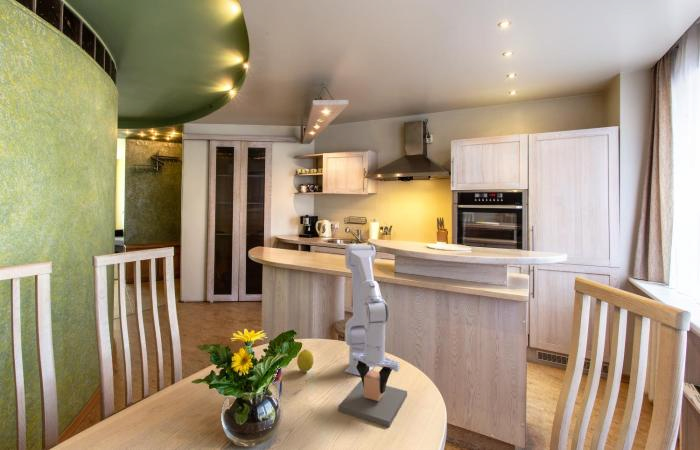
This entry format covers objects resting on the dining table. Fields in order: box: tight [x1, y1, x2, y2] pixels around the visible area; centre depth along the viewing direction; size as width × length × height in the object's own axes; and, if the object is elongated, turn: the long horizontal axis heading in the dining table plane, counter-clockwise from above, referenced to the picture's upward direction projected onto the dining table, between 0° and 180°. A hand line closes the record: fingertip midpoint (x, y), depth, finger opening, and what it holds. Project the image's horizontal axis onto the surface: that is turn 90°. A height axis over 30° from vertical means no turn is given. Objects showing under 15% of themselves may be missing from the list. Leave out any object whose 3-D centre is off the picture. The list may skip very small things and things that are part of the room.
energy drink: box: [272, 367, 283, 397], centre depth 99 cm, size 5×5×12 cm
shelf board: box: [338, 379, 408, 428], centre depth 96 cm, size 16×15×2 cm
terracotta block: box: [364, 369, 384, 401], centre depth 96 cm, size 5×5×6 cm
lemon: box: [296, 349, 314, 373], centre depth 113 cm, size 6×6×8 cm
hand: (374, 389), depth 96 cm, fingers closed on terracotta block, 5 cm apart
